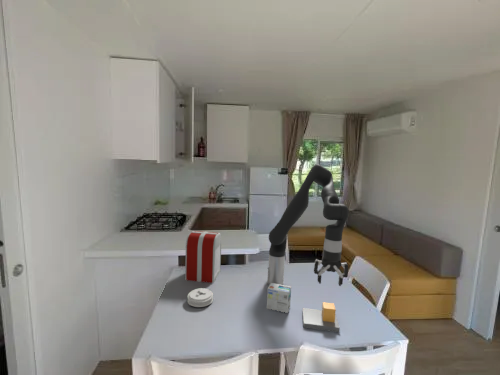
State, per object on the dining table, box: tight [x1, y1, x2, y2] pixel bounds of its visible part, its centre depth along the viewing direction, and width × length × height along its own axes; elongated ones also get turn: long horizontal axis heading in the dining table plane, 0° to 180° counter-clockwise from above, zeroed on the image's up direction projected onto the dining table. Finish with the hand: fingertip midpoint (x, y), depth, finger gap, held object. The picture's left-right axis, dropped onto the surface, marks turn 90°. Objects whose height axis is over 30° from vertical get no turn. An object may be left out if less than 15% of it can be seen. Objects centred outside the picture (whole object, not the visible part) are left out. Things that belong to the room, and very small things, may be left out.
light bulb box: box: [266, 283, 292, 314], centre depth 127 cm, size 11×7×11 cm, turn 71°
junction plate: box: [301, 307, 341, 333], centre depth 118 cm, size 15×12×2 cm
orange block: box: [321, 301, 337, 322], centre depth 117 cm, size 5×5×6 cm
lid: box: [187, 287, 214, 308], centre depth 131 cm, size 13×13×5 cm
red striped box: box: [184, 230, 222, 284], centre depth 158 cm, size 16×18×27 cm
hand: (329, 283), depth 116 cm, fingers open, 8 cm apart
